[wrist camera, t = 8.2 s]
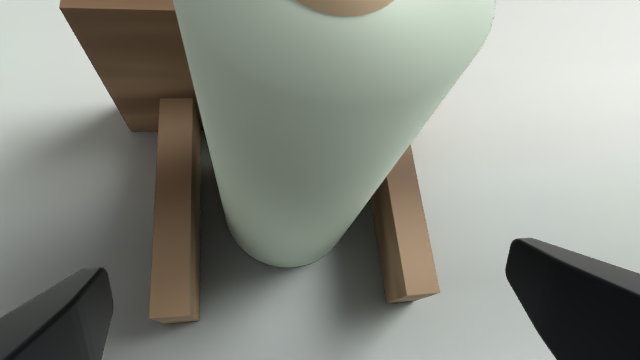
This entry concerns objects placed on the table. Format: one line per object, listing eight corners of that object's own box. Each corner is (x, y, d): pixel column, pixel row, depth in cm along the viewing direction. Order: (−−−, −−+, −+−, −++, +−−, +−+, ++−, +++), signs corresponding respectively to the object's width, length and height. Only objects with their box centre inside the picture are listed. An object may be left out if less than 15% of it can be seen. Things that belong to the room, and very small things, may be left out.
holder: (454, 296, 17) (573, 263, 11) (115, 328, 15) (8, 310, 8) (412, 96, 21) (482, -19, 14) (133, 99, 18) (66, -36, 12)
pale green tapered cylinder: (281, 295, 16) (333, 172, 5) (198, 198, 17) (89, -83, 6) (372, 212, 18) (559, -12, 7) (293, 129, 19) (343, -183, 8)
